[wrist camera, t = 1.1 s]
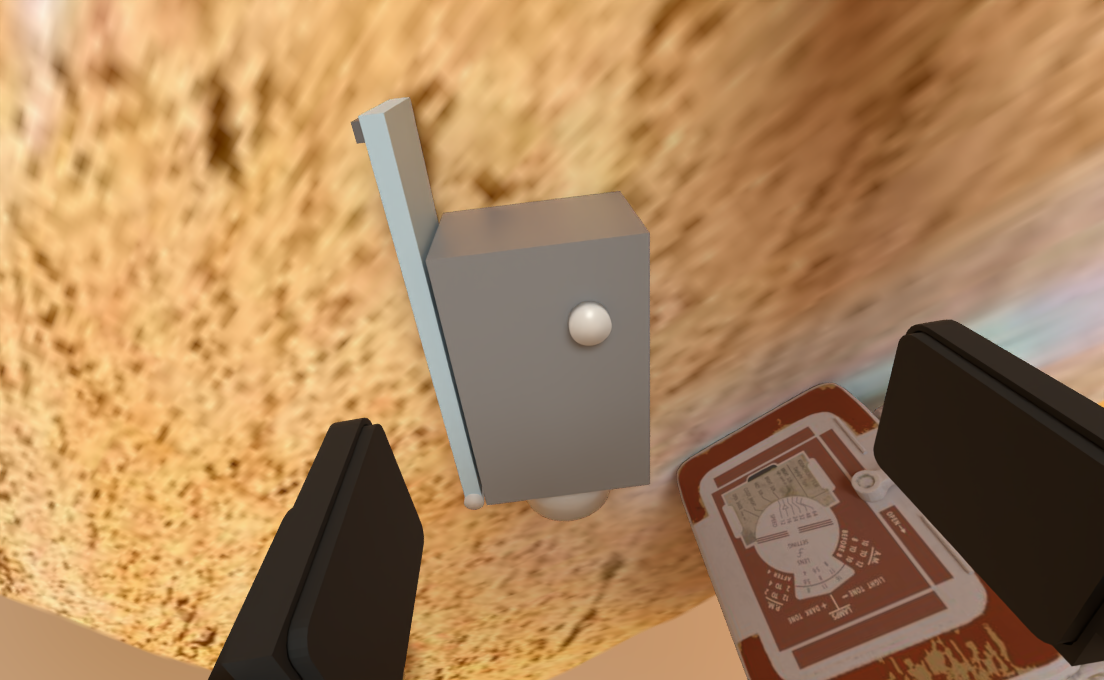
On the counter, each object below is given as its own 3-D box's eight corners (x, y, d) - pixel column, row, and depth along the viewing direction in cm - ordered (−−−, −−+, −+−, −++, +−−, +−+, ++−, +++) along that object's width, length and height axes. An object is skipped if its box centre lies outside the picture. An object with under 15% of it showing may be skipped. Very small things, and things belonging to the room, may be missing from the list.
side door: (382, 99, 25) (346, 117, 19) (412, 96, 25) (384, 113, 19) (468, 440, 37) (461, 511, 31) (489, 437, 37) (485, 508, 31)
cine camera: (936, 399, 38) (1279, 692, 21) (713, 517, 44) (844, 827, 26) (898, 318, 34) (1287, 600, 17) (657, 459, 39) (771, 782, 22)
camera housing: (443, 213, 28) (422, 267, 22) (620, 191, 28) (654, 239, 22) (498, 463, 38) (495, 552, 32) (628, 446, 38) (652, 532, 32)
